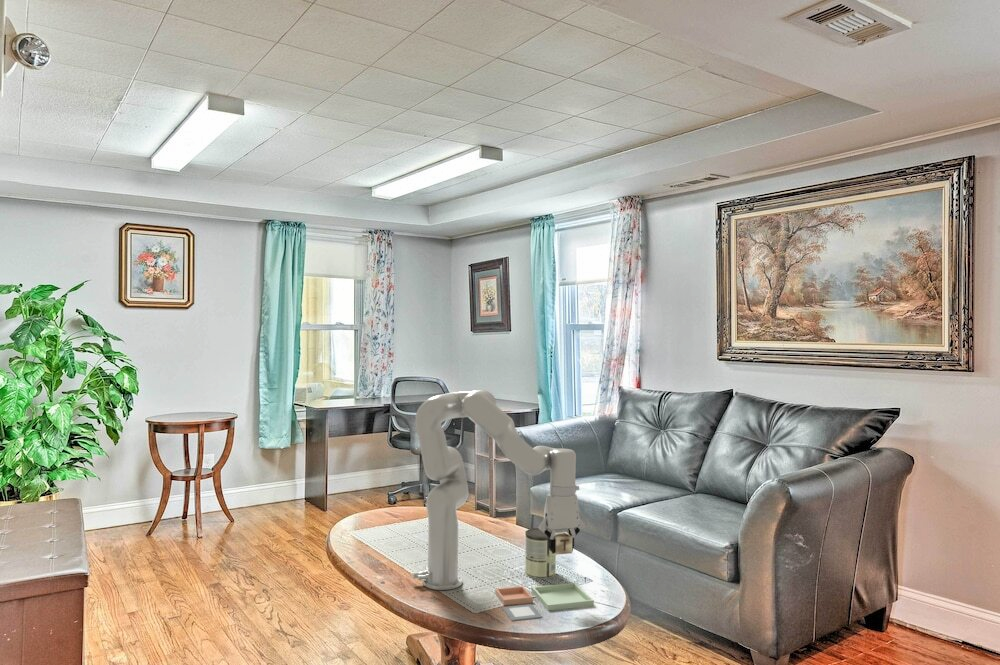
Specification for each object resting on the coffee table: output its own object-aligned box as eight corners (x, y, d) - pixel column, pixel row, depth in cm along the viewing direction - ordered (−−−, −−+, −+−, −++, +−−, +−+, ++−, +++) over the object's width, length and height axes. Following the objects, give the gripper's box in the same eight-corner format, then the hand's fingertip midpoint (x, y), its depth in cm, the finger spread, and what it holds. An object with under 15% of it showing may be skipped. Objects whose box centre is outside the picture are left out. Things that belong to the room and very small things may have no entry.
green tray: (547, 612, 202) (547, 605, 201) (531, 593, 215) (531, 586, 215) (593, 607, 206) (593, 600, 206) (574, 589, 219) (574, 582, 219)
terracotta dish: (503, 606, 205) (503, 600, 205) (495, 595, 213) (495, 588, 213) (532, 603, 207) (532, 597, 207) (523, 592, 216) (523, 586, 216)
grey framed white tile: (511, 622, 194) (511, 619, 194) (502, 609, 202) (502, 607, 202) (542, 619, 196) (542, 616, 196) (531, 606, 205) (531, 604, 205)
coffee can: (525, 568, 237) (526, 527, 237) (555, 570, 236) (556, 528, 236) (523, 579, 227) (524, 536, 227) (555, 581, 226) (556, 537, 226)
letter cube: (556, 554, 207) (557, 537, 207) (550, 549, 212) (550, 532, 212) (572, 553, 208) (572, 536, 208) (565, 548, 213) (566, 531, 213)
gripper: (583, 486, 216) (582, 544, 216) (531, 488, 211) (530, 549, 211) (593, 492, 209) (592, 552, 209) (540, 494, 204) (538, 557, 204)
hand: (561, 550), depth 210 cm, fingers closed on letter cube, 5 cm apart
